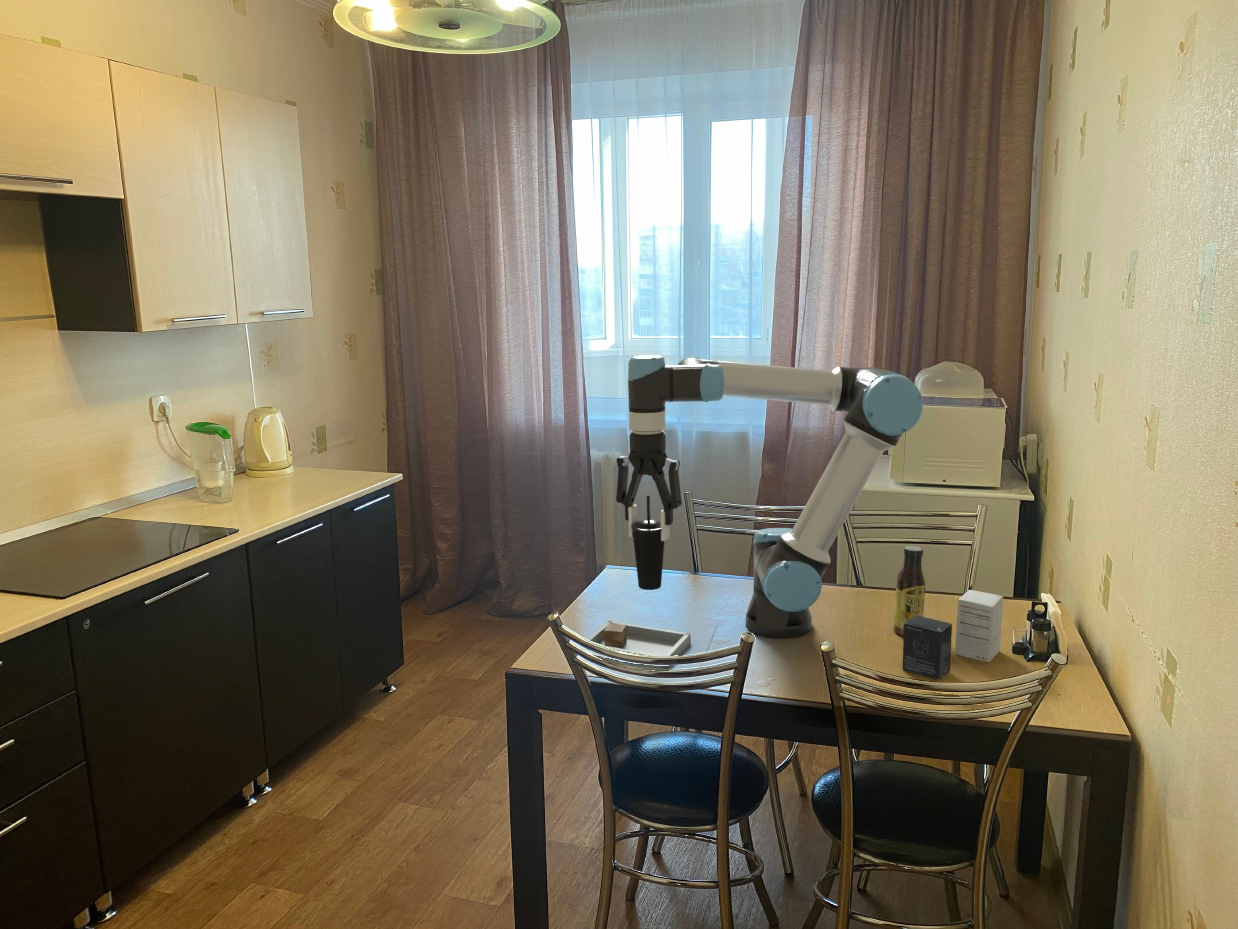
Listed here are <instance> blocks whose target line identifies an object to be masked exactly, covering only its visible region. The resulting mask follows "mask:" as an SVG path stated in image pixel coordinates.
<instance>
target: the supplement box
mask: <svg viewBox="0 0 1238 929" xmlns="http://www.w3.org/2000/svg"><path fill="white" fill-rule="evenodd" d="M1003 604H1004V596H1002V595H999V594H994V593H989V592H983V591H978V590H975V589H973V590H972V589H968V590H967V591H966V592H965V593H964V594H962V595H961V596H960V597H959V598H958V600H957V617H956V631H955V650H954V651H955V652H954V654H955V655H957V656H961V657H964V658H968V659H973V660H976V661H981V662H984V663H985V662H986V663H991V662H992V661H993V659H994V658H995V657H996V656H997V654H999V652H1000V651H1001V638H1002V636H1001V635H1002V623H1003V622H1002V621H1003V606H1004V605H1003Z"/></svg>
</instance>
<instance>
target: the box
mask: <svg viewBox="0 0 1238 929" xmlns="http://www.w3.org/2000/svg"><path fill="white" fill-rule="evenodd" d="M952 631H953V623H951V622H945V621H941V620H937V619H934V618H930V617H925V616H923V617H922V616H918V615H916V616H914V617H912V618H911V619H909V620H908V621H906V622H905V623H904V635H903V640H902V641H903V643H902V644H903V645H902V647H903V648H902V670H903V671H905V672H908V671H909V673H912V674H915V675H919V676H922V675H923V676H924V677H927V678H930V679H933V678H935V679H934V680H936V681H938V680H937V679H939V680H941V679H942V678H943V677H945V676H946V675H948V674H949V673H950V671H951V656H952V654H951V652H952V651H951V650H952V637H953V636H952V634H953V632H952ZM945 674H946V675H945ZM944 675H945V676H944ZM942 676H943V677H942ZM941 677H942V678H941ZM940 678H941V679H940Z"/></svg>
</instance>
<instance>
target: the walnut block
mask: <svg viewBox="0 0 1238 929" xmlns="http://www.w3.org/2000/svg"><path fill="white" fill-rule="evenodd" d="M604 641H605V646H609V647H614V648H620V649H623V647H624V645H625V644H626V642H627V628H626V625H622V624H608V626H607V627H606V629H605V630H604Z"/></svg>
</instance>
